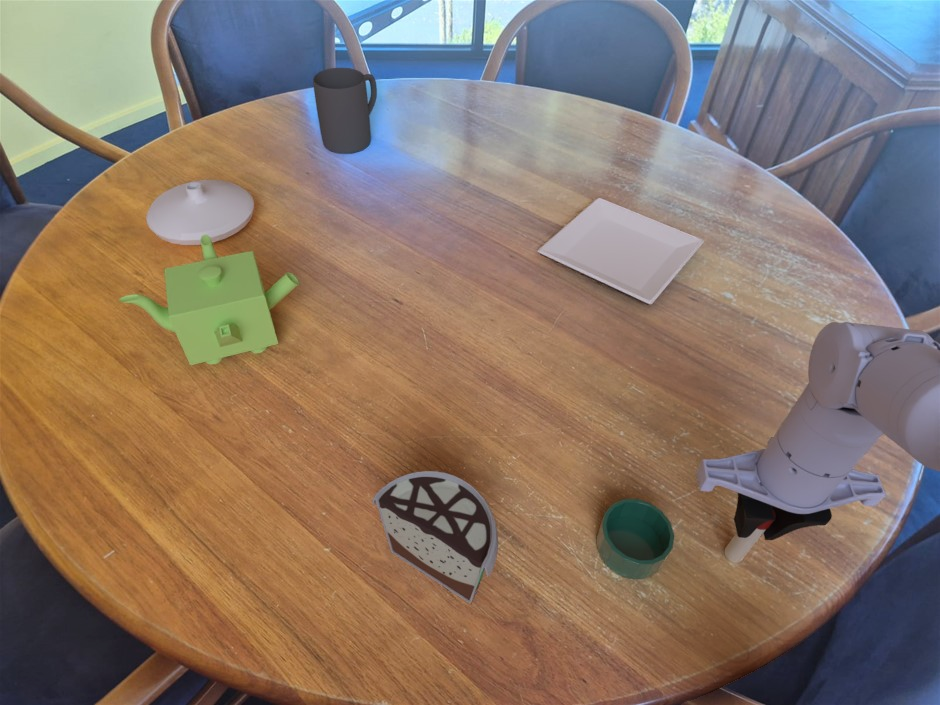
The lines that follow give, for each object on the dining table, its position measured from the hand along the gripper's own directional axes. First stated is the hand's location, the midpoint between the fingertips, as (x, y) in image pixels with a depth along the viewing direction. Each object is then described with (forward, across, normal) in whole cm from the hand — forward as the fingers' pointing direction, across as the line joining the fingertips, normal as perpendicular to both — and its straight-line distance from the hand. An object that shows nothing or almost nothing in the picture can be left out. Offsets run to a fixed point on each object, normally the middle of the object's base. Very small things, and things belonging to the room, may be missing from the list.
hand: (753, 529), depth 58 cm
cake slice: (+6, +28, +3) cm, 29 cm away
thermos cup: (+5, +10, 0) cm, 12 cm away
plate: (+6, +8, -47) cm, 48 cm away
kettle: (+6, +60, -24) cm, 65 cm away
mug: (+6, +55, -78) cm, 96 cm away
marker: (+5, 0, 0) cm, 5 cm away
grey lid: (+6, +72, -47) cm, 87 cm away
